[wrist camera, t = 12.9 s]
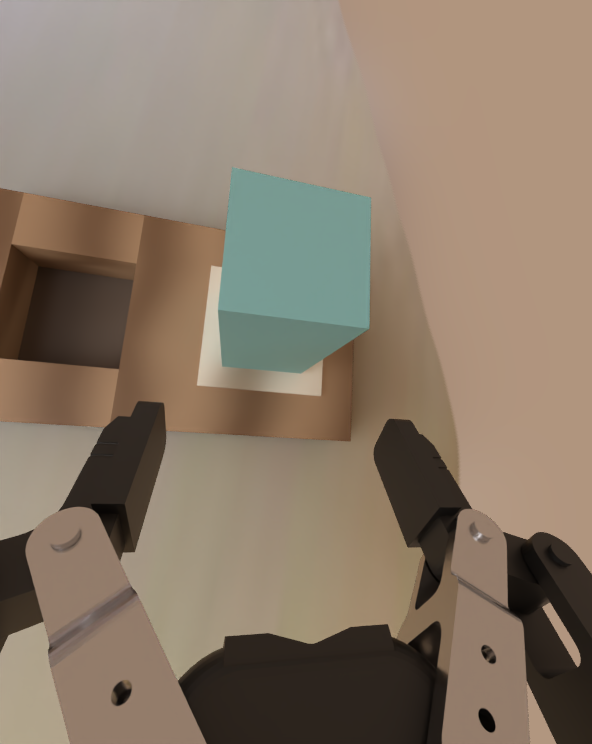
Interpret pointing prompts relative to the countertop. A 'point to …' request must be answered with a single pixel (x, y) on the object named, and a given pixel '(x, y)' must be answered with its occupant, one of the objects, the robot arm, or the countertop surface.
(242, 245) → the teal block
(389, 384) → the countertop surface
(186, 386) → the puzzle board
